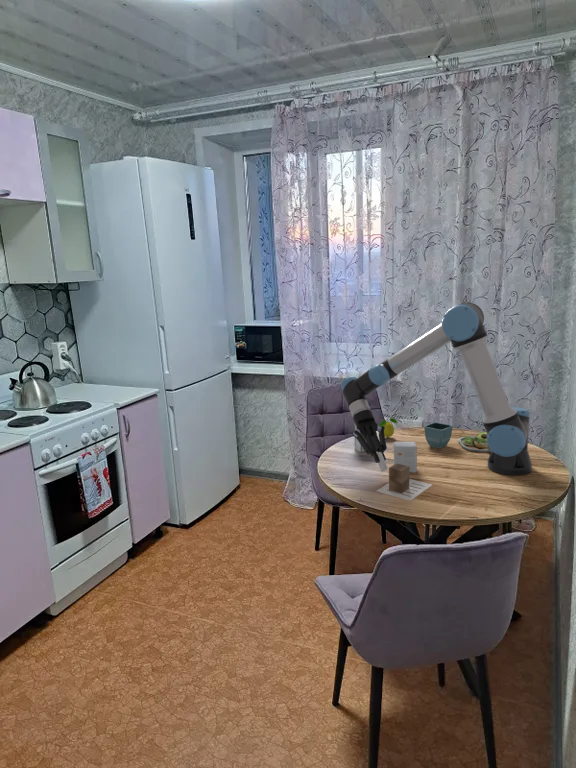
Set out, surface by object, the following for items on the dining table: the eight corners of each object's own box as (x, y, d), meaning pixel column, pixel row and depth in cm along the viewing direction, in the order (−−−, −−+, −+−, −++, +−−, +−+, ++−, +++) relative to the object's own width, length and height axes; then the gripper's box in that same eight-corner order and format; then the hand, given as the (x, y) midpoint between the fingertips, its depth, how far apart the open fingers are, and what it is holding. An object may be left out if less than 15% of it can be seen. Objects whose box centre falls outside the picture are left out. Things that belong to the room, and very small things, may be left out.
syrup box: (366, 447, 219) (366, 414, 216) (373, 451, 213) (372, 418, 210) (354, 449, 217) (353, 416, 214) (360, 453, 212) (360, 419, 209)
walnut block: (409, 488, 175) (409, 466, 173) (401, 493, 171) (402, 470, 170) (396, 484, 178) (396, 463, 176) (388, 489, 175) (388, 467, 173)
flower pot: (434, 441, 222) (434, 421, 220) (452, 445, 216) (453, 425, 214) (423, 446, 217) (423, 426, 215) (441, 451, 210) (442, 430, 208)
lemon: (397, 436, 231) (397, 415, 228) (392, 440, 226) (392, 419, 224) (383, 435, 234) (383, 414, 232) (378, 438, 229) (378, 417, 227)
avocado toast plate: (510, 455, 203) (511, 444, 202) (464, 455, 205) (464, 444, 204) (498, 440, 221) (499, 430, 220) (456, 439, 224) (456, 429, 223)
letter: (432, 485, 177) (432, 484, 177) (410, 501, 165) (410, 500, 165) (399, 477, 186) (399, 476, 186) (375, 491, 174) (375, 491, 174)
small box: (414, 467, 194) (415, 441, 192) (417, 473, 189) (417, 446, 186) (393, 467, 195) (393, 441, 193) (395, 473, 189) (395, 446, 187)
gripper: (373, 416, 199) (396, 471, 188) (343, 421, 195) (364, 477, 183) (380, 406, 193) (404, 462, 182) (349, 411, 189) (372, 468, 177)
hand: (384, 469), depth 182 cm, fingers closed
